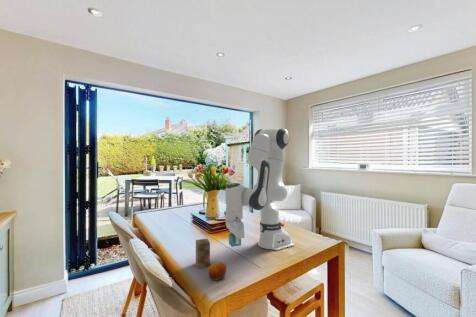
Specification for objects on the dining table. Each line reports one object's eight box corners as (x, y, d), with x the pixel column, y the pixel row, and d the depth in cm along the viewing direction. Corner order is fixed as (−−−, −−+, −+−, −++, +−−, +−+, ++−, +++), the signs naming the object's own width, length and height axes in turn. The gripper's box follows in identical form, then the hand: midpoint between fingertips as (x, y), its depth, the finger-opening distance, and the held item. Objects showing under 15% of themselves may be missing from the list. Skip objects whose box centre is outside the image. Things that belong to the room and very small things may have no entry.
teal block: (237, 241, 123) (237, 232, 123) (241, 245, 118) (240, 235, 118) (228, 243, 121) (228, 233, 121) (231, 246, 116) (231, 237, 116)
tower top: (207, 250, 119) (207, 238, 119) (209, 254, 114) (209, 242, 113) (195, 251, 117) (195, 239, 117) (197, 256, 112) (197, 244, 111)
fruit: (216, 282, 96) (211, 263, 100) (208, 285, 102) (204, 266, 105) (232, 277, 101) (227, 258, 104) (224, 279, 107) (219, 261, 110)
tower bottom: (207, 261, 119) (207, 250, 119) (209, 266, 114) (209, 254, 114) (195, 263, 117) (195, 251, 117) (197, 268, 112) (197, 256, 112)
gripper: (247, 219, 110) (248, 247, 111) (233, 209, 130) (234, 233, 130) (234, 221, 108) (235, 250, 109) (223, 211, 127) (223, 235, 128)
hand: (234, 241), depth 119 cm, fingers closed on teal block, 5 cm apart
